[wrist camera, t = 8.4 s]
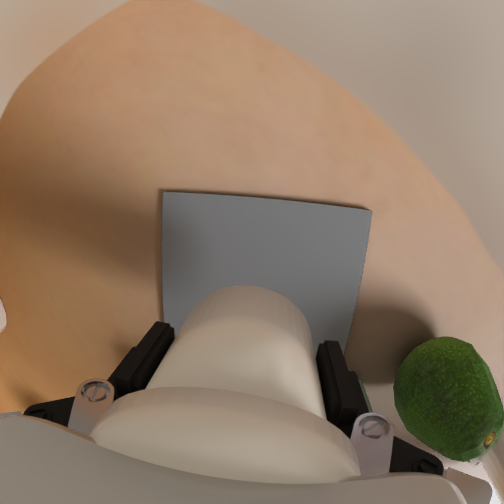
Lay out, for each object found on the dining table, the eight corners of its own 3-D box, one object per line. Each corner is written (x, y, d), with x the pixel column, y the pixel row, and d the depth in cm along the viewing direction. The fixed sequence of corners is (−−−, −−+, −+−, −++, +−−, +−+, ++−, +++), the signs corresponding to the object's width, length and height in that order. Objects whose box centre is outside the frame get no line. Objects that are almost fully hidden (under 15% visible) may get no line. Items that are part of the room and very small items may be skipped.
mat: (369, 209, 18) (372, 210, 18) (339, 360, 21) (340, 364, 21) (166, 191, 19) (163, 191, 19) (168, 341, 22) (165, 345, 22)
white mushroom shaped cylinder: (338, 279, 11) (425, 451, 3) (309, 403, 13) (321, 553, 5) (170, 263, 12) (30, 394, 4) (176, 388, 14) (117, 524, 5)
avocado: (465, 350, 20) (529, 430, 9) (402, 402, 22) (442, 496, 11) (436, 298, 19) (524, 384, 8) (363, 360, 21) (406, 477, 10)
